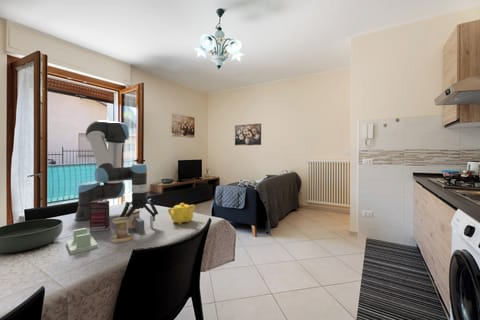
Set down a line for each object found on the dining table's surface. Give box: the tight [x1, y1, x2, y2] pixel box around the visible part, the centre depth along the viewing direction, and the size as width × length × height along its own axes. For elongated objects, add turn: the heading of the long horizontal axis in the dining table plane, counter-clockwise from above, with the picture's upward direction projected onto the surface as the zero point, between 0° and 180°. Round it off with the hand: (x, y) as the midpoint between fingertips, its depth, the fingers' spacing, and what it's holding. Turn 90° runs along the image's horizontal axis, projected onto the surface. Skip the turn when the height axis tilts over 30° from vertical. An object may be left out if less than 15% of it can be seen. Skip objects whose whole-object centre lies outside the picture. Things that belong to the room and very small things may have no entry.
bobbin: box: [109, 216, 134, 244], centre depth 112 cm, size 10×10×10 cm
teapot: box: [167, 202, 196, 226], centre depth 139 cm, size 14×14×12 cm
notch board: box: [66, 227, 99, 255], centre depth 103 cm, size 14×10×6 cm
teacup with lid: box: [124, 205, 141, 230], centre depth 132 cm, size 12×9×12 cm
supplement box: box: [89, 200, 111, 232], centre depth 125 cm, size 9×5×16 cm, turn 98°
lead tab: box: [134, 217, 145, 233], centre depth 124 cm, size 6×3×6 cm, turn 43°
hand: (139, 229), depth 124 cm, fingers open, 13 cm apart
